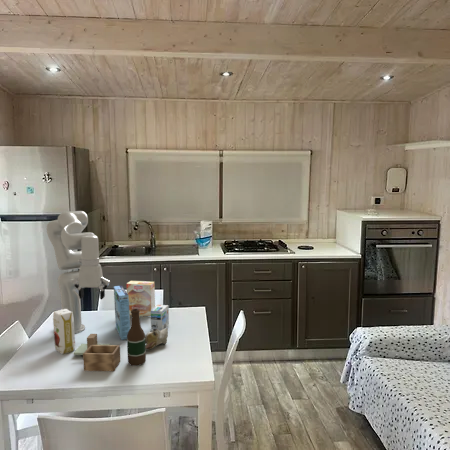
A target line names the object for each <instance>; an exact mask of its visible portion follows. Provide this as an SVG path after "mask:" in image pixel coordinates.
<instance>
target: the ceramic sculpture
mask: <svg viewBox="0 0 450 450" xmlns="http://www.w3.org/2000/svg"><path fill="white" fill-rule="evenodd" d="M168 335H169V329H168V328H167V327H165V328H164V329H163V330H158V329H153V330H151V331H148V332H147V333H146V334H145V348H146V350H152V349H154V348H155V347H156V346H159V345H161V344H164V345H166V344H167V342H168Z"/></svg>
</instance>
